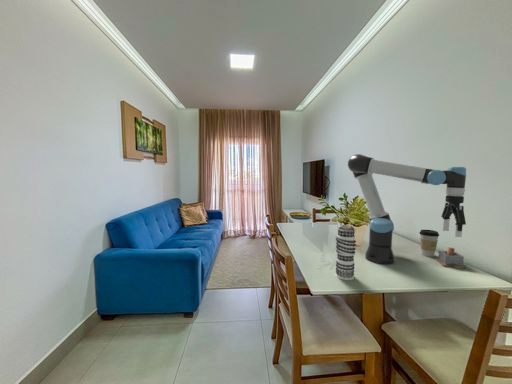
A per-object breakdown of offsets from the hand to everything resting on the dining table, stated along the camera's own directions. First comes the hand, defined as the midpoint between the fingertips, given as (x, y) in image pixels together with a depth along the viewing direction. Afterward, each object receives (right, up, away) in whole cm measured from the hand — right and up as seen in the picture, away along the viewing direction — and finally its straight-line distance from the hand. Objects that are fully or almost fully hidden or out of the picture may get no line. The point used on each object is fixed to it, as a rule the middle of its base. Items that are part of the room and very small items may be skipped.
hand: (451, 233), depth 127 cm
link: (0, -16, +1) cm, 16 cm away
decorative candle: (-64, -19, -14) cm, 68 cm away
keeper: (0, -17, +1) cm, 17 cm away
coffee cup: (-2, -16, +15) cm, 22 cm away
